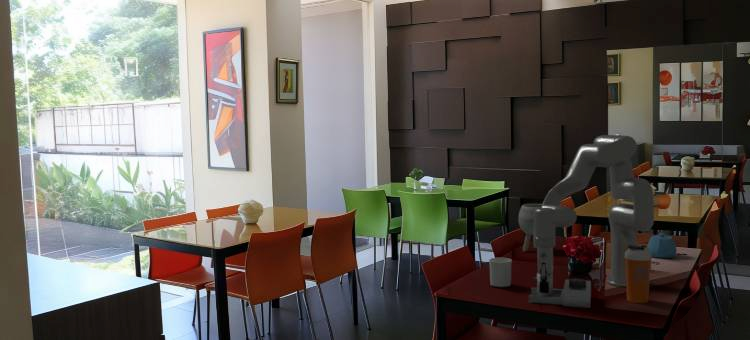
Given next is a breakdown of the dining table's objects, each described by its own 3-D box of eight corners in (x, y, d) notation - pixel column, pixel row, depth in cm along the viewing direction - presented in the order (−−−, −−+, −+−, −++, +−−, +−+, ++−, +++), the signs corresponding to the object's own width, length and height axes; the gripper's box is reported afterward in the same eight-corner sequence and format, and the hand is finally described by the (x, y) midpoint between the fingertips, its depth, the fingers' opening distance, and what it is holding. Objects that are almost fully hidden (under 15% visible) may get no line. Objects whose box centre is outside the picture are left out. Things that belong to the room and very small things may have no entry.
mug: (507, 289, 255) (507, 263, 254) (485, 286, 260) (485, 261, 259) (516, 282, 264) (516, 257, 263) (496, 280, 269) (495, 255, 268)
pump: (553, 293, 243) (553, 270, 242) (552, 297, 237) (552, 274, 236) (533, 292, 245) (533, 269, 244) (532, 296, 240) (532, 273, 239)
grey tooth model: (556, 253, 314) (556, 207, 312) (522, 254, 315) (522, 208, 313) (547, 246, 330) (547, 202, 328) (515, 247, 331) (515, 203, 329)
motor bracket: (590, 294, 245) (591, 274, 244) (590, 307, 229) (590, 286, 228) (532, 291, 252) (532, 271, 251) (528, 303, 236) (528, 282, 235)
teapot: (645, 236, 297) (648, 229, 313) (645, 259, 298) (647, 251, 314) (676, 238, 291) (677, 231, 307) (675, 262, 292) (676, 253, 308)
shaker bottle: (619, 297, 240) (620, 243, 238) (643, 296, 241) (643, 242, 239) (631, 304, 231) (632, 249, 230) (655, 303, 232) (656, 247, 230)
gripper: (553, 247, 230) (553, 297, 231) (556, 237, 246) (556, 284, 247) (531, 246, 232) (532, 296, 234) (536, 236, 248) (536, 283, 250)
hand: (544, 289), depth 241 cm, fingers closed on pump, 5 cm apart
